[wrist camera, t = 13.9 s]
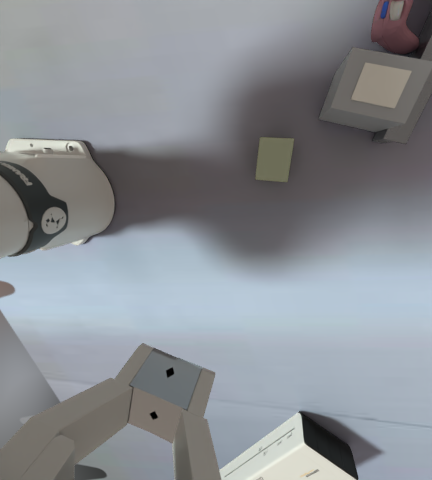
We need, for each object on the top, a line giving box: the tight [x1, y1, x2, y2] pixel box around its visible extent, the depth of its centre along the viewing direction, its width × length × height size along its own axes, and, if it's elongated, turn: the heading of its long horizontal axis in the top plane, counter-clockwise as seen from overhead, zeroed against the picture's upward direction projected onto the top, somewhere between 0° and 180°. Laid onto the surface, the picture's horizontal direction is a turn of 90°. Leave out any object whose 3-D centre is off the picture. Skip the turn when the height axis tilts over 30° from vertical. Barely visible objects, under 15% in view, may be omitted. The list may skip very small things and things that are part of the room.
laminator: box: [219, 412, 358, 480], centre depth 50 cm, size 34×12×6 cm, turn 148°
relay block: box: [255, 137, 294, 182], centre depth 31 cm, size 4×5×4 cm
